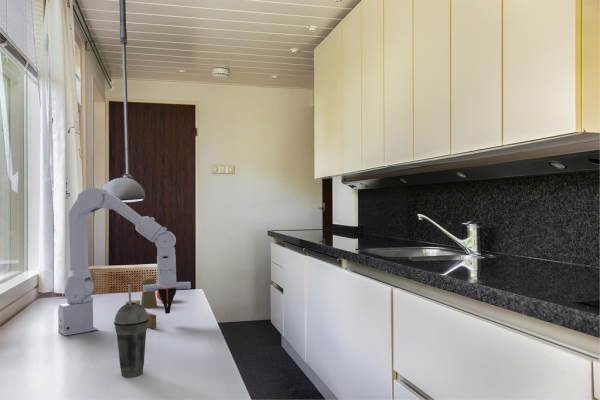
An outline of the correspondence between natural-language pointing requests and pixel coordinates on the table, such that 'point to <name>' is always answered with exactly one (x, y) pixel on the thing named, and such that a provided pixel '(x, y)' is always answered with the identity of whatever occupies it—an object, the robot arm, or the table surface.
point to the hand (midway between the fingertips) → (167, 312)
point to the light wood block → (134, 301)
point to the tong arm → (151, 320)
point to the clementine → (160, 297)
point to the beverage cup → (131, 337)
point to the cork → (148, 294)
